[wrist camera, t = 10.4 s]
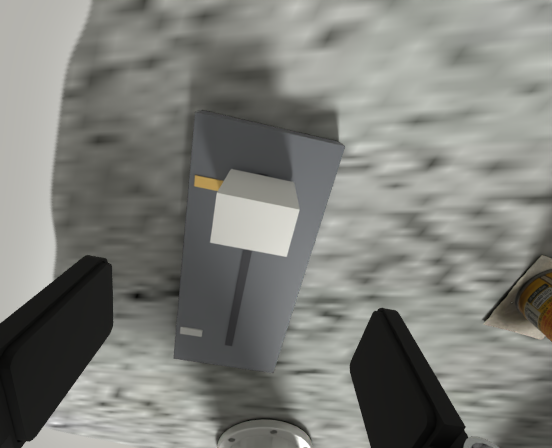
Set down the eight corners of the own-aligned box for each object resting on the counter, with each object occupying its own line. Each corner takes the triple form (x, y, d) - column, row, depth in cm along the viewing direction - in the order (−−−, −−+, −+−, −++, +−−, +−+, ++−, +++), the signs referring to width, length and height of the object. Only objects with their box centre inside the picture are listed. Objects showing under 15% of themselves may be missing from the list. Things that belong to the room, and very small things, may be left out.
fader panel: (273, 356, 30) (273, 374, 28) (179, 342, 29) (173, 359, 27) (339, 141, 20) (345, 146, 18) (202, 110, 19) (194, 112, 18)
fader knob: (284, 220, 20) (286, 256, 16) (224, 208, 20) (210, 242, 16) (293, 182, 19) (299, 209, 15) (230, 168, 19) (216, 192, 14)
